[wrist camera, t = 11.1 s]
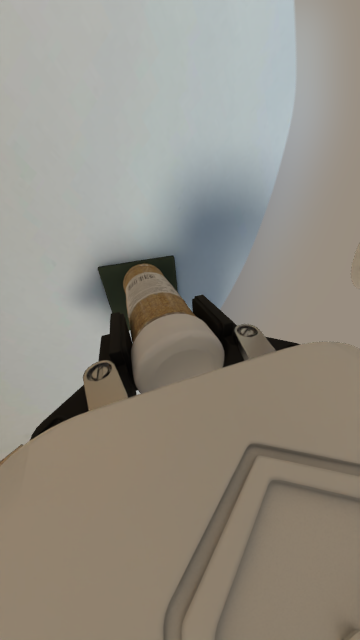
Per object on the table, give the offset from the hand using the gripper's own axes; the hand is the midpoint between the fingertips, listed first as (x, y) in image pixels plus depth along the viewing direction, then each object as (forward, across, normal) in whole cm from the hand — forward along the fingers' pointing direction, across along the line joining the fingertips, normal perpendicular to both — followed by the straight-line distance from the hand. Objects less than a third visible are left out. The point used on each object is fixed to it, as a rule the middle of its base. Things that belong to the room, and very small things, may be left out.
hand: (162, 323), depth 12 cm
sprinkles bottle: (+9, 0, 0) cm, 9 cm away
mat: (+10, 0, +2) cm, 10 cm away
